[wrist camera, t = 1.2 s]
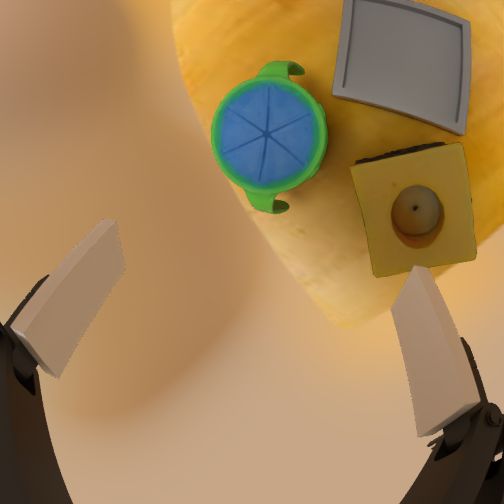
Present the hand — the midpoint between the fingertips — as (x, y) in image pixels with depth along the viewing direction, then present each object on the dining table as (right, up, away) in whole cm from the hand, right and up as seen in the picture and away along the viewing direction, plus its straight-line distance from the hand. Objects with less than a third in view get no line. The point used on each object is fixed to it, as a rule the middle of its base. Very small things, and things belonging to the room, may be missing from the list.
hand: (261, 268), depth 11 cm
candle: (+17, +7, +15) cm, 24 cm away
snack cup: (+5, +14, +19) cm, 24 cm away
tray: (+17, +22, +9) cm, 29 cm away
